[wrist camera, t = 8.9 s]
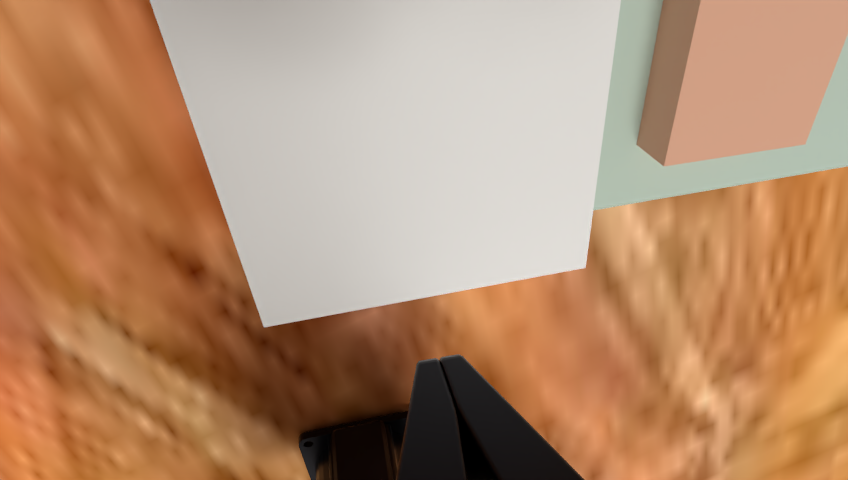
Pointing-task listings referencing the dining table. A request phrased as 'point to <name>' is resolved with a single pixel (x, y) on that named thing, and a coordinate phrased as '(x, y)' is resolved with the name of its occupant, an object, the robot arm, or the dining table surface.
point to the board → (396, 140)
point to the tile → (738, 76)
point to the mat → (649, 180)
